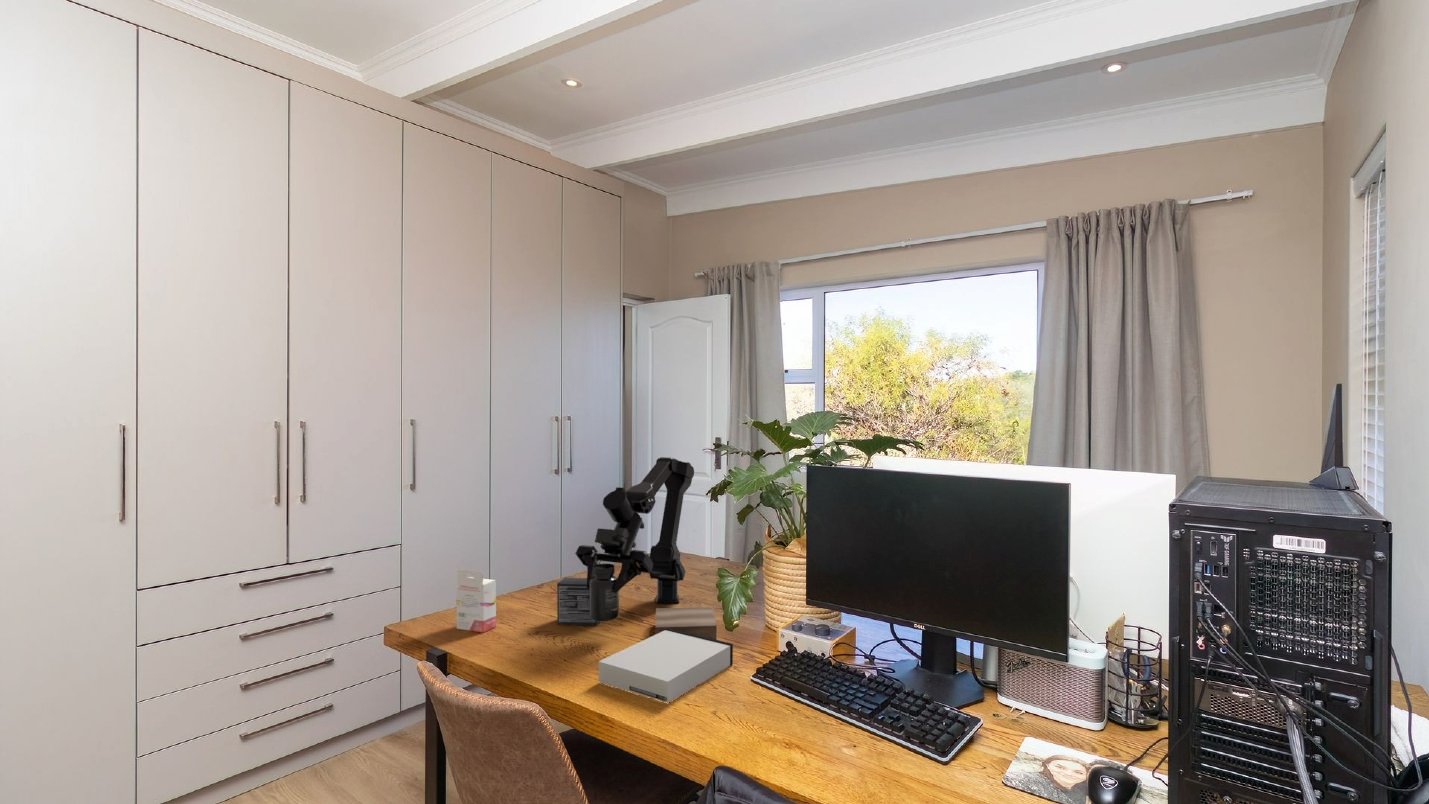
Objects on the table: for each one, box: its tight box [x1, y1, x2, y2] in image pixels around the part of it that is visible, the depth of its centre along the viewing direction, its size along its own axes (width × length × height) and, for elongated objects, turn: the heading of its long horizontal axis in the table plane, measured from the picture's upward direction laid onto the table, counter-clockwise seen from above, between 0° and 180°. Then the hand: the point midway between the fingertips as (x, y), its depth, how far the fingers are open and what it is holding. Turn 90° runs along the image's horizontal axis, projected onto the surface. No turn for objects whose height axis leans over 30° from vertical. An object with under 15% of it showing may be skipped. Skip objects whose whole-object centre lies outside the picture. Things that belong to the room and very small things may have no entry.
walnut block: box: [655, 606, 718, 640], centre depth 162 cm, size 14×14×4 cm
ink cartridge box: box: [455, 568, 497, 633], centre depth 166 cm, size 9×5×15 cm, turn 68°
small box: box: [556, 577, 601, 627], centre depth 171 cm, size 11×6×10 cm, turn 84°
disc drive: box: [598, 628, 734, 703], centre depth 139 cm, size 18×22×5 cm
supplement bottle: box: [589, 563, 620, 623], centre depth 158 cm, size 7×7×12 cm
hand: (600, 590), depth 157 cm, fingers closed on supplement bottle, 7 cm apart
